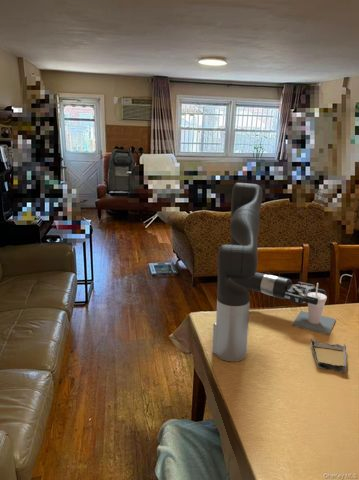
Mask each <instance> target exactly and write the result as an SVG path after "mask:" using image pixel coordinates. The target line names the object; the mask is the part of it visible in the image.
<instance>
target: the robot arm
mask: <svg viewBox="0 0 359 480" xmlns="http://www.w3.org/2000/svg"><path fill="white" fill-rule="evenodd" d="M263 196H264V195H263V189H262V186H260V185H259V184H256V183H246V182H236V183H234V185H233V187H232V191H231V202H230V203H231V204H230V205H231V206H230V224H229V233H230V244H222V245H220V247H219V249H218V251H217V261H216V262H217V294H216V295H217V296H216V297H217V298H216V318H215V319H216V321H215V322H214V323H213V326H212V352H211V353H212V354H214V355H216V356H217V357H218V358H219V359H220V360H224V361H227V362H239V361H242V360H244V359H245V358H246V356H247V350H248V347H247V346H248V335H249V334H248V332H249V318H250V317H249V315H250V301H251V300H250V298H251V293H250V291H249V290H251V291H255V292H258V293H262V294H265V295H267V296H271V297H275V298H279V299H282V300H284V301H287V302H291V303H294V304H298V305H302V304H305V303H307V304H308V303H310V304H314V305H317V304H318V298H315V297H311V296H307V294H308V293H311V292H316V286H315V284H313V283H307V282H302V281H298V282H297V284H294V283H293V281H292V280H291V279H290V278H287V277H282V276H280V275H279V276H277V275H274V274H267V273H263V272H262V273H261V272H257V269H258V261H259V260H258V258H259V257H258V240H259V239H258V237H259V232H260V231H259V230H260V215H261V207H262V202H263ZM326 292H327V291H326V289H322V288H318V291H317V293H322V294H324V295H326V294H327V293H326Z"/></svg>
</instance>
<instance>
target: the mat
mask: <svg viewBox="0 0 359 480" xmlns="http://www.w3.org/2000/svg"><path fill="white" fill-rule="evenodd" d="M336 320H337V319H336V318H333V317H330V316H329V317H328V316H325V315H322V316H321V320H320V323H319V324H312V323H310V322H309V321H308V311H303V310H301V311H300V312H299V313H298V315H297V316H296V318H295V320H293V322H292V324H291V326H293V327H297V328H299V327H300V328H299V329H304V330H309V331H310V332H311V331H312V332H314V333H315V332H316V333H319V334H324V335H326V336H330V334H331V332H332V330H333V327H334V325H335V322H336Z"/></svg>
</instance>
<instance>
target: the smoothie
mask: <svg viewBox="0 0 359 480" xmlns="http://www.w3.org/2000/svg"><path fill="white" fill-rule="evenodd" d="M315 288H316V292H311V293H308V294H307V295H306V296H311V297H315V298H318V304H317V305H314V304H310V303H307V310H308V311H307V312H308V321H309V322H310V323H312V324H319V323H320V320H321V316H323V311H324V309H325V308H324V307H325V304H326V301H327V298H328V296H327V295H326V294H325V295H324V294H322V293H317V291H318V289H319V282H317V283H316V286H315Z"/></svg>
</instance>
